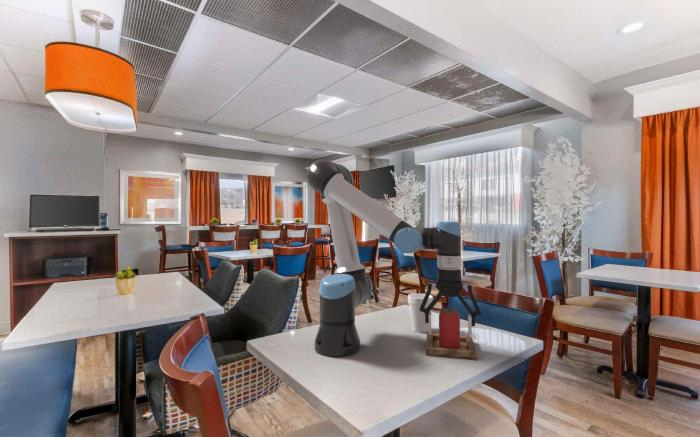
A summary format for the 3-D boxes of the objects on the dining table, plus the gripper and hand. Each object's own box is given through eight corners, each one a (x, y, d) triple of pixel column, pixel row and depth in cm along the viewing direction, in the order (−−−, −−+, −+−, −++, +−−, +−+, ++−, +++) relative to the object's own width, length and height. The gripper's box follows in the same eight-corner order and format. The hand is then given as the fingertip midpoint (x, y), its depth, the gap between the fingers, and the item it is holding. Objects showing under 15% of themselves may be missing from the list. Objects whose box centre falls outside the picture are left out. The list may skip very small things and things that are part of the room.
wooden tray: (425, 355, 101) (425, 348, 101) (426, 337, 117) (426, 331, 117) (477, 360, 98) (477, 353, 98) (471, 340, 114) (470, 334, 114)
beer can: (462, 345, 108) (462, 308, 108) (457, 351, 102) (456, 313, 102) (442, 341, 111) (442, 306, 112) (436, 347, 106) (436, 310, 106)
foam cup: (438, 332, 123) (437, 297, 123) (417, 335, 120) (416, 299, 120) (423, 324, 132) (423, 292, 132) (403, 327, 128) (403, 294, 129)
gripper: (411, 268, 106) (411, 335, 106) (490, 271, 101) (491, 341, 100) (412, 265, 114) (413, 328, 113) (486, 267, 108) (487, 333, 107)
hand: (449, 334), depth 107 cm, fingers open, 12 cm apart
